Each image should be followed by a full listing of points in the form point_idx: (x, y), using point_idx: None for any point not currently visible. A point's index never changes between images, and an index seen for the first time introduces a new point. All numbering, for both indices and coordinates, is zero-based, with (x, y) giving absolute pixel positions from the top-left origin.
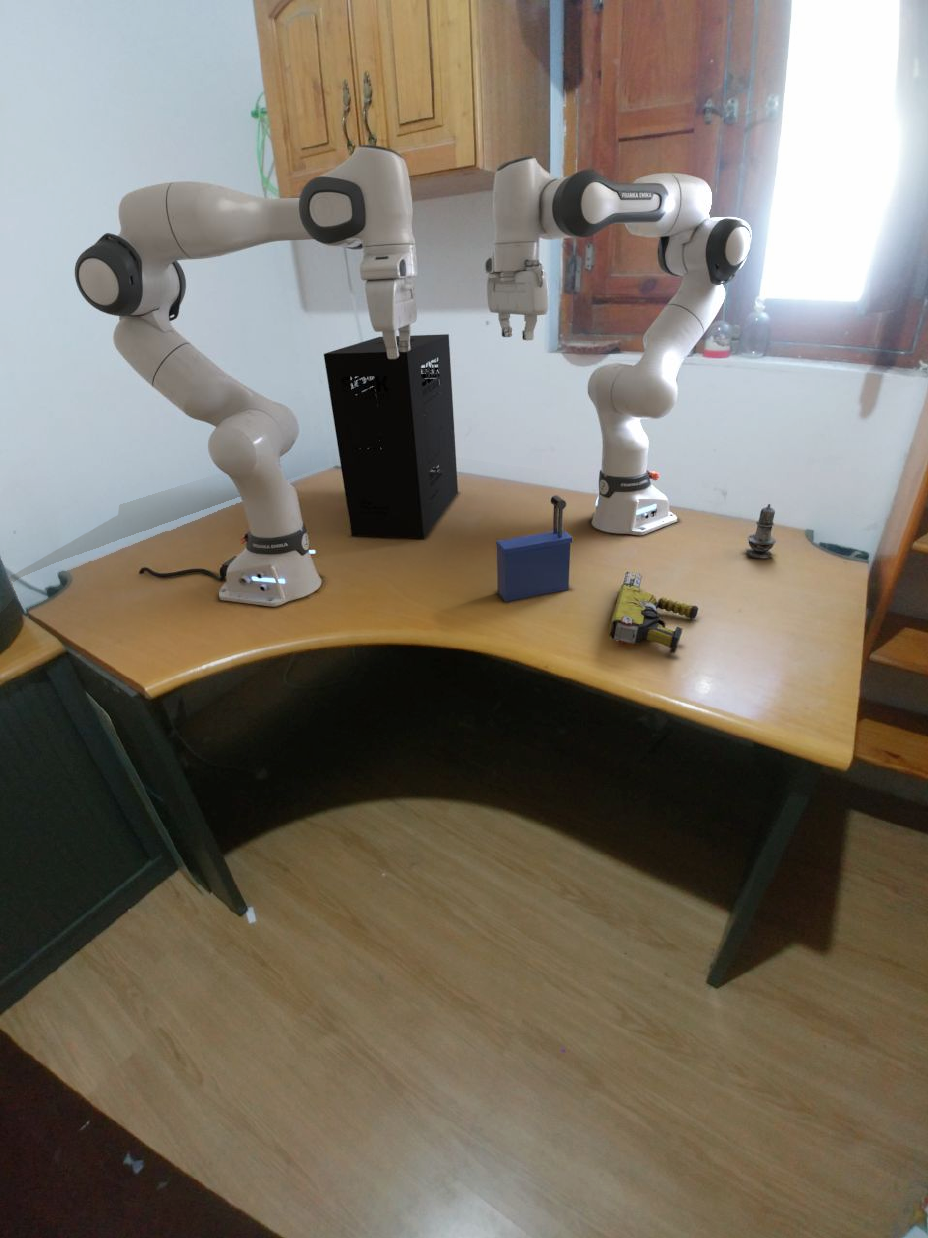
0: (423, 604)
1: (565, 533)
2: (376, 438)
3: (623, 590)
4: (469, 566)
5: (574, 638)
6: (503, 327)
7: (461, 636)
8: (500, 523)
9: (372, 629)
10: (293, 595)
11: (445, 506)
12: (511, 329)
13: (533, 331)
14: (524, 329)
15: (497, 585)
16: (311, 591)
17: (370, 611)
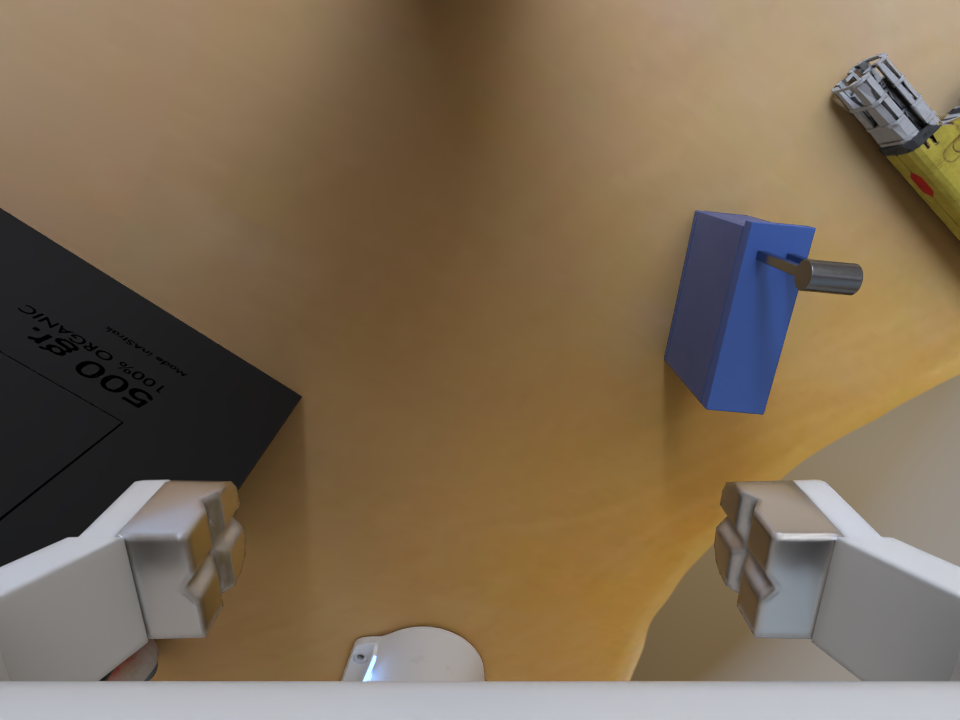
0: (623, 498)
1: (779, 229)
2: None
3: (941, 170)
4: (511, 359)
5: (911, 314)
6: (146, 635)
7: None
8: (275, 164)
9: (657, 591)
10: (483, 680)
11: (88, 268)
12: (196, 527)
13: (871, 527)
14: (830, 651)
15: (669, 365)
16: (473, 650)
17: (594, 580)
